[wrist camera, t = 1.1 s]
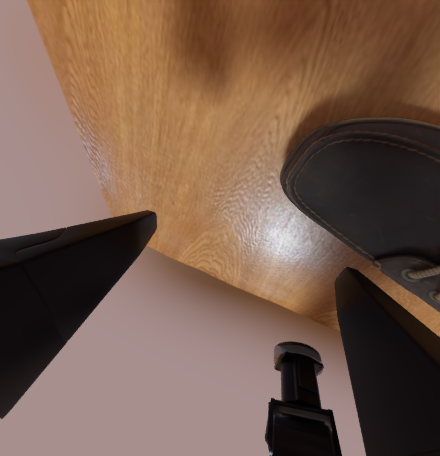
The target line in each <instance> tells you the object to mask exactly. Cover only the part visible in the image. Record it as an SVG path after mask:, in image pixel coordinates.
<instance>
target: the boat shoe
mask: <svg viewBox="0 0 440 456" xmlns="http://www.w3.org/2000/svg"><path fill="white" fill-rule="evenodd" d="M280 183H281V186H282V188H283V191H284V193H285V194H286V196H287V197H288V199H289V200H290V201H291V202H292V203H293V204H294V205H295V206H296V207H297V208H298V209H299V210H300V211H301V212H303V213H304V214H305V215H306V216H308V217H309V218H310V219H312V220H313V221H314V222H316V223H317V224H318V225H320V226H321V227H323V228H324V229H326V230H327V231H329V232H330V233H331V234H333V235H334V236H335V237H337V238H338V239H340V240H341V241H342V242H344V243H345V244H346V245H348V246H349V247H350V248H352V249H353V250H354V251H356V252H357V253H358V254H360V255H361V256H363V257H364V258H366V259H367V260H369V261H371V262H372V263H373V265H374V266H376V267H377V268H378V270H380V271H381V272H383V273H384V274H385V275H387V276H388V277H390V278H391V279H393V280H394V281H395V282H397V283H398V284H400V285H401V286H402V287H404V288H405V289H407V290H408V291H410V292H412V293H413V294H415V295H416V296H418V297H419V298H421V299H422V300H423V301H425V302H426V303H428V304H429V305H430V306H432V307H433V308H434V309H436V310H437V311H438V312H440V126H438V125H435V124H431V123H427V122H422V121H418V120H413V119H404V118H389V117H383V118H357V119H347V120H339V121H336V122H332V123H329V124H326V125H323V126H321V127H319V128H317V129H315V130H313V131H312V132H311V133H309V134H308V135H307V136H306V137H304V138H303V139H302V140H301V141H300V142H299V143H298V144H297V145H296V147H295V148H294V149H293V150H292V152H291V153H290V155H289V156H288V158H287V160H286V162H285V163H284V165H283V168H282V170H281V174H280Z"/></svg>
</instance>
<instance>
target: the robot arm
mask: <svg viewBox="0 0 440 456" xmlns="http://www.w3.org/2000/svg"><path fill="white" fill-rule="evenodd" d="M156 229H157V215H156V213H155V212H152V211H149V210H146V211H142V212H137V213H132V214H127V215H123V216H118V217H113V218H108V219H104V220H99V221H94V222H89V223H85V224H80V225H75V226H70V227H67V228H61V229H56V230H51V231H46V232H41V233H36V234H30V235H25V236H19V237H13V238H7V239H1V240H0V418H1V419H3V418H4V416H6V415H7V413H8V412H9V411H10V410H11V409H12V408H13V407H14V405H15V404H16V403H17V402H18V400H19V399H20V398H21V397H22V396H23V395H24V393H25V392H26V391H27V390H28V389H29V387H30V386H31V385H32V384H33V383H34V381H35V380H36V379H37V378H38V376H39V375H40V374H41V373H42V372H43V371H44V369H45V368H46V367H47V366H48V364H49V363H50V362H51V361H52V360H53V359H54V357H55V356H56V355H57V354H58V353H59V351H60V350H61V349H62V348H63V347H64V345H65V344H66V343H67V340H69V339H70V338H71V337H72V336H73V334H74V333H75V332H76V331H77V330H78V328H79V327H80V326H81V325H82V323H83V322H84V321H85V320H86V319H87V317H88V316H89V315H90V314H91V313H92V312H93V310H94V309H95V308H96V307H97V305H98V304H99V303H100V302H101V300H102V299H103V298H104V297H105V296H106V295H107V293H108V292H109V291H110V290H111V288H112V287H113V286H114V285H115V284H116V283H117V281H118V280H119V279H120V278H121V277H122V275H123V274H124V273H125V272H126V271H127V269H128V268H129V267H130V266H131V265H132V263H133V262H134V261H135V260H136V259H137V257H138V256H139V255H140V253H141V252H142V251H143V249H144V248H145V246H146V245H147V243H148V242H149V240H150V239H151V237H152V236H153V234H154V233H155V231H156ZM334 285H335V297H336V308H337V317H338V322H339V327H340V332H341V336H342V341H343V346H344V351H345V355H346V360H347V365H348V370H349V375H350V380H351V385H352V389H353V393H354V399H355V404H356V408H357V413H358V418H359V423H360V427H361V433H362V437H363V442H364V447H365V452H366V456H440V337H439V336H437V335H436V334H435V333H434V332H432V331H431V330H430V329H429V328H428V327H426V326H425V325H424V324H423V323H422V322H420V321H419V320H418V319H417V318H415V317H414V316H413V315H412V314H411V313H409V312H408V311H407V310H406V309H404V308H403V307H402V306H401V305H400V304H398V303H397V302H396V301H395V300H393V299H392V298H391V297H390V296H389V295H387V294H386V293H385V292H384V291H383V290H381V289H380V288H379V287H378V286H376V285H375V284H374V283H373V282H372V281H370V280H369V279H368V278H367V277H365V276H364V275H363V274H362V273H361V272H359V271H358V270H356V269H353V268H350V267H345V268H344V269H343V270H342V272H341V273H340V274H339V275H338V277H337V278H336V280H335V284H334ZM323 368H324V366H323V364H322V363H319V362H316V361H313V360H310V359H308V358H305V357H302V356H299V355H296V354H293V353H290V352H287V351H286V352H284V353H283V355H282V356H281V357H280V359H279V360H278V362H277V363H276V364H275V370H278V371H280V372H281V395H282V396H281V397H282V401H280V400H275V399H274V398H271V402H269V411H268V421H267V427H266V433H265V441H266V442H267V444H268V448H269V455H270V456H342V454H341V449H340V444H339V439H338V435H337V430H336V425H335V421H334V416H333V412H332V410H330V409H328V410H325V409H322V408H321V402H320V396H319V389H318V383H317V378H316V375H317V374H318V373H319V372H320V371H321V370H322V369H323Z"/></svg>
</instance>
